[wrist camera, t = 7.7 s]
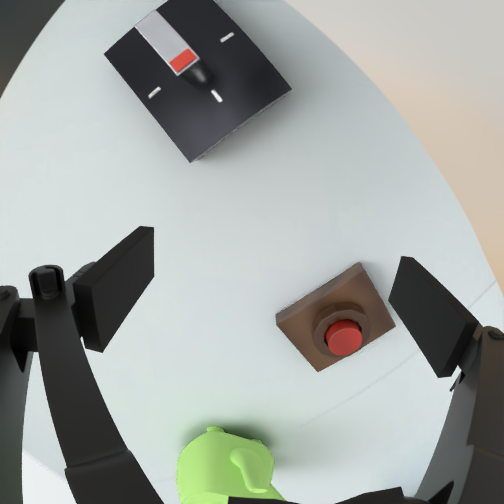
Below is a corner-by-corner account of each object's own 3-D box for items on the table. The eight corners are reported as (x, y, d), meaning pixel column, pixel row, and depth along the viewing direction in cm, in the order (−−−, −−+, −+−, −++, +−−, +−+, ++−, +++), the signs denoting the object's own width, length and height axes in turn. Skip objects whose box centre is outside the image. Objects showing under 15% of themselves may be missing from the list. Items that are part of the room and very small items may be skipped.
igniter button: (349, 313, 33) (353, 321, 31) (363, 335, 34) (367, 343, 32) (319, 331, 34) (322, 340, 32) (335, 351, 35) (338, 360, 33)
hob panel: (199, -7, 24) (194, -18, 21) (289, 93, 28) (292, 88, 25) (115, 59, 26) (102, 53, 24) (196, 160, 31) (189, 163, 28)
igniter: (358, 261, 34) (369, 276, 31) (390, 317, 37) (401, 334, 33) (275, 314, 37) (276, 333, 34) (315, 362, 40) (319, 381, 36)
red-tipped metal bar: (164, 50, 24) (132, 24, 16) (180, 38, 23) (153, 8, 16) (199, 91, 25) (176, 75, 18) (216, 78, 25) (199, 57, 17)
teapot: (259, 480, 54) (258, 538, 39) (168, 453, 51) (153, 515, 36) (330, 428, 46) (342, 503, 31) (218, 392, 43) (205, 480, 28)
